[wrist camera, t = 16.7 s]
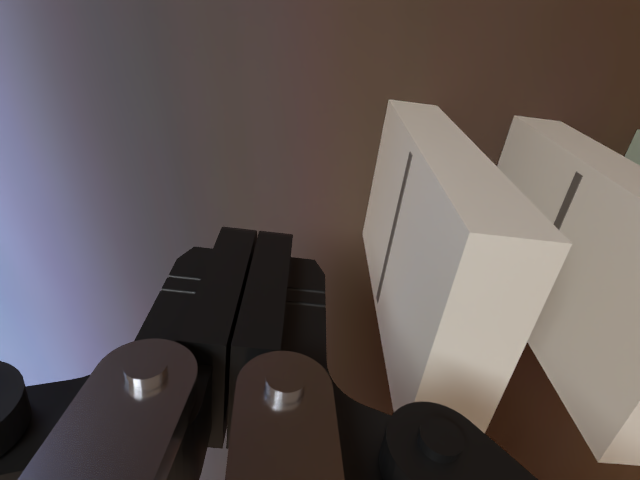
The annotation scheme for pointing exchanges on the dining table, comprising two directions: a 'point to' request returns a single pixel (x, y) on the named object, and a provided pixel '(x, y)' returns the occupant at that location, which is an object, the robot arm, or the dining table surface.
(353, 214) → the dining table surface
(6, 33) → the dining table surface
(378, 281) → the domino
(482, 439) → the robot arm
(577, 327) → the domino
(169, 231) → the dining table surface
